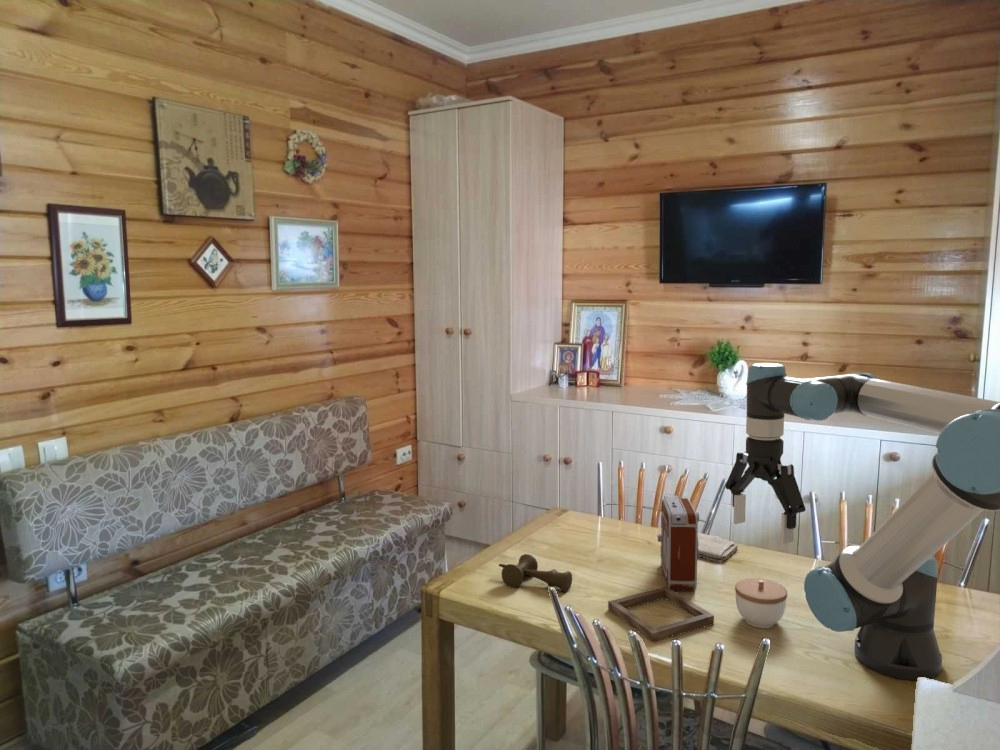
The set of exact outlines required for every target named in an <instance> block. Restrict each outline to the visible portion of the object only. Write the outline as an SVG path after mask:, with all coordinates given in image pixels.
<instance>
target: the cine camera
mask: <svg viewBox="0 0 1000 750" xmlns="http://www.w3.org/2000/svg"><path fill="white" fill-rule="evenodd" d="M699 522H700V513H699V512H696V511H695V508H694V507H693V504H692V502H691V501H690V499H689V498H686V497H685V498H679V496H678V495H672V494H671V495H670V494H669V495H668V494H667V495H663V498H662V499H661V514H660V528H661V530H660V531H661V532H660V533H661V534H660V533H657V535H656V536H657V542H658V543H660V566H661V571H662V572H661V573H662V575H663V579H664V581H665V586H666V587H668V588H670V589H671V590H673V591H684V592H685V591H691V592H693V591H696V590H697V584H698V583H697V580H698V560H699V558H700V557H699V549H698V533H699V532H698V530H699V527H698V526H699Z"/></svg>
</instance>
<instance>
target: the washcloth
mask: <svg viewBox="0 0 1000 750" xmlns="http://www.w3.org/2000/svg"><path fill="white" fill-rule="evenodd" d="M713 540H714V541H713ZM738 547H739V546H738V545H737V544H735V541H733V540H728V539H724V538H721V537H720V536H718V535H710V534H705V533H702V532H698V549H699V558H700V557H703V558H702V559H705V558H708V559H711V560H710V561H712V560H714V562H716V561H718V562H717V563H720V562H722V563H723V562H724V561H723V560H725V561H727V560H728V559H729V558H730V557H731V556H732V555H734V554H735V553H736V552H737V551H738ZM736 550H737V551H736ZM735 551H736V552H735ZM731 554H732V555H731ZM730 555H731V556H730ZM729 556H730V557H729ZM728 557H729V558H728ZM727 558H728V559H727ZM708 559H707V560H708ZM726 559H727V560H726Z"/></svg>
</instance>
